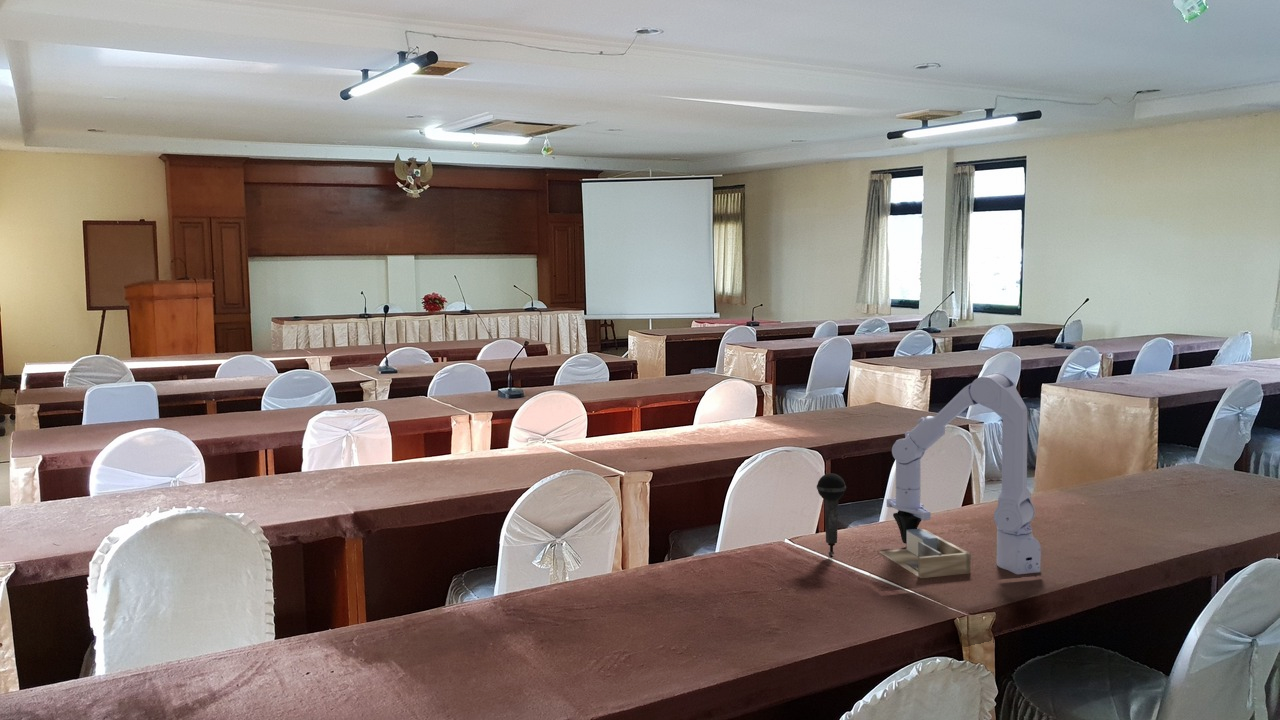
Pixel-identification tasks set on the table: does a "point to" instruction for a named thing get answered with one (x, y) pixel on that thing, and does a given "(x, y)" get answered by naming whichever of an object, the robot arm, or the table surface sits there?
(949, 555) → the wooden open box
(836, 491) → the microphone
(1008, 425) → the robot arm
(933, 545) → the grey-blue block
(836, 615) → the table surface
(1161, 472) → the table surface
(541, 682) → the table surface
